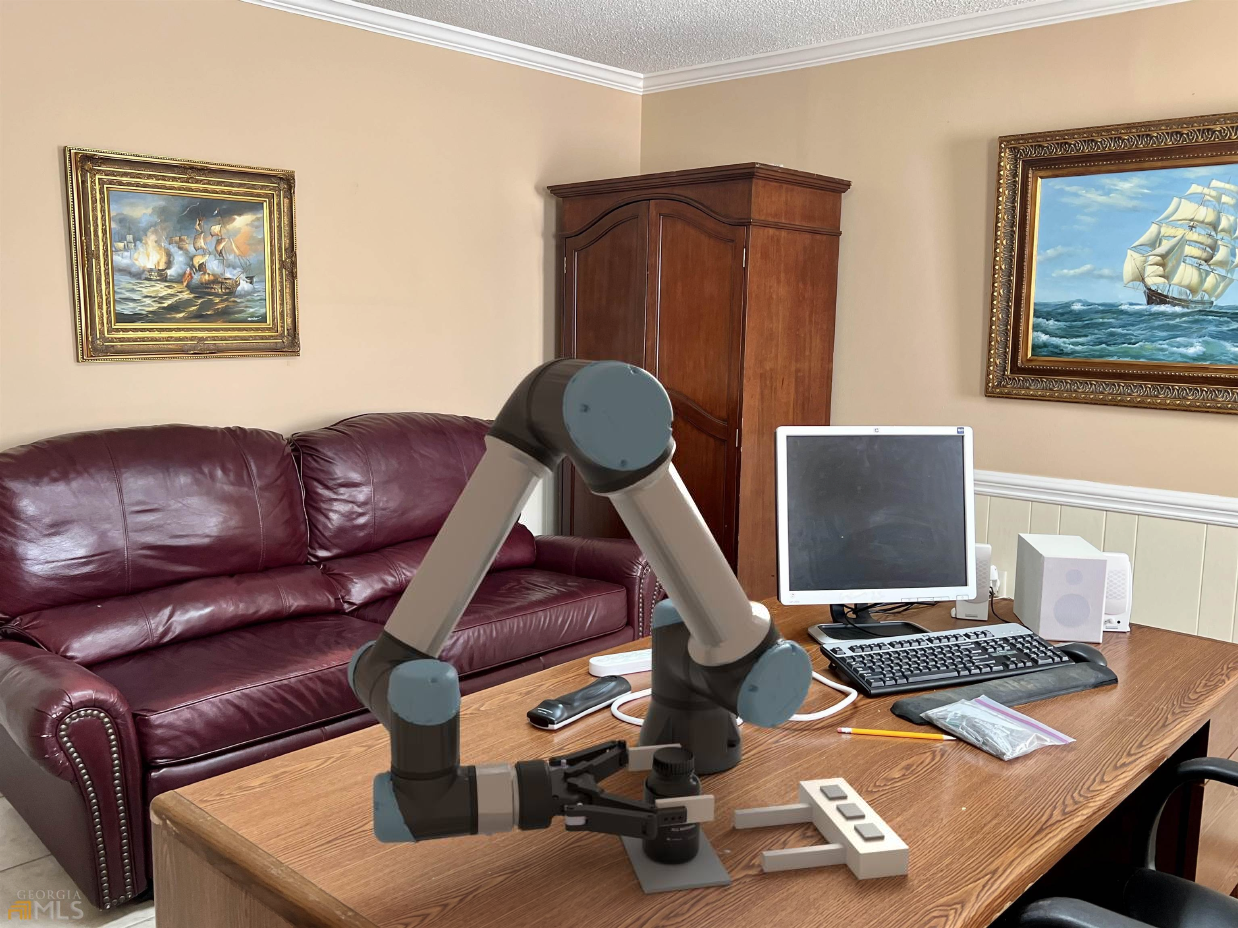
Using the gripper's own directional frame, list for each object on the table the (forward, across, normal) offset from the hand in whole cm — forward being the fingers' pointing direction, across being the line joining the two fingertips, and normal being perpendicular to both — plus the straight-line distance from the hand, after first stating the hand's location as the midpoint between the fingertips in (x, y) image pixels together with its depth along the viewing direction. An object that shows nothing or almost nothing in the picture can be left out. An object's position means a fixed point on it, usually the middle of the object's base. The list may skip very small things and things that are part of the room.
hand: (696, 779), depth 117 cm
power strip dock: (+15, 0, -9) cm, 17 cm away
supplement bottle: (-3, 0, -9) cm, 9 cm away
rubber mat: (-3, 0, -9) cm, 10 cm away
